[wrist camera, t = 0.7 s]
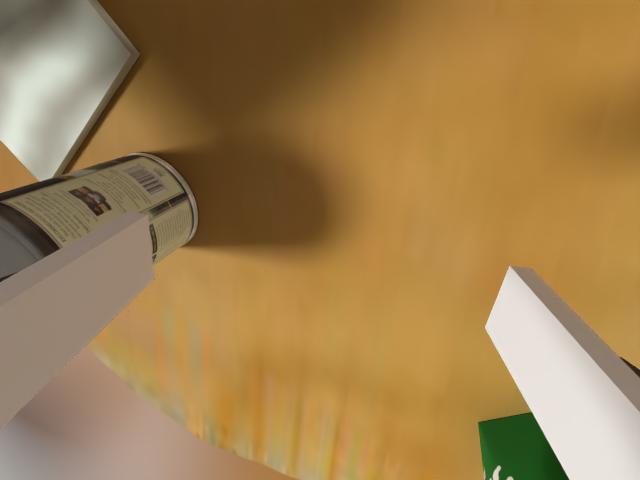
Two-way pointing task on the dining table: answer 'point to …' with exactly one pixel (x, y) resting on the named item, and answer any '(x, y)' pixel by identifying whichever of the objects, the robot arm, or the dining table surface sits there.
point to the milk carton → (517, 450)
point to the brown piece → (56, 77)
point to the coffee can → (95, 209)
